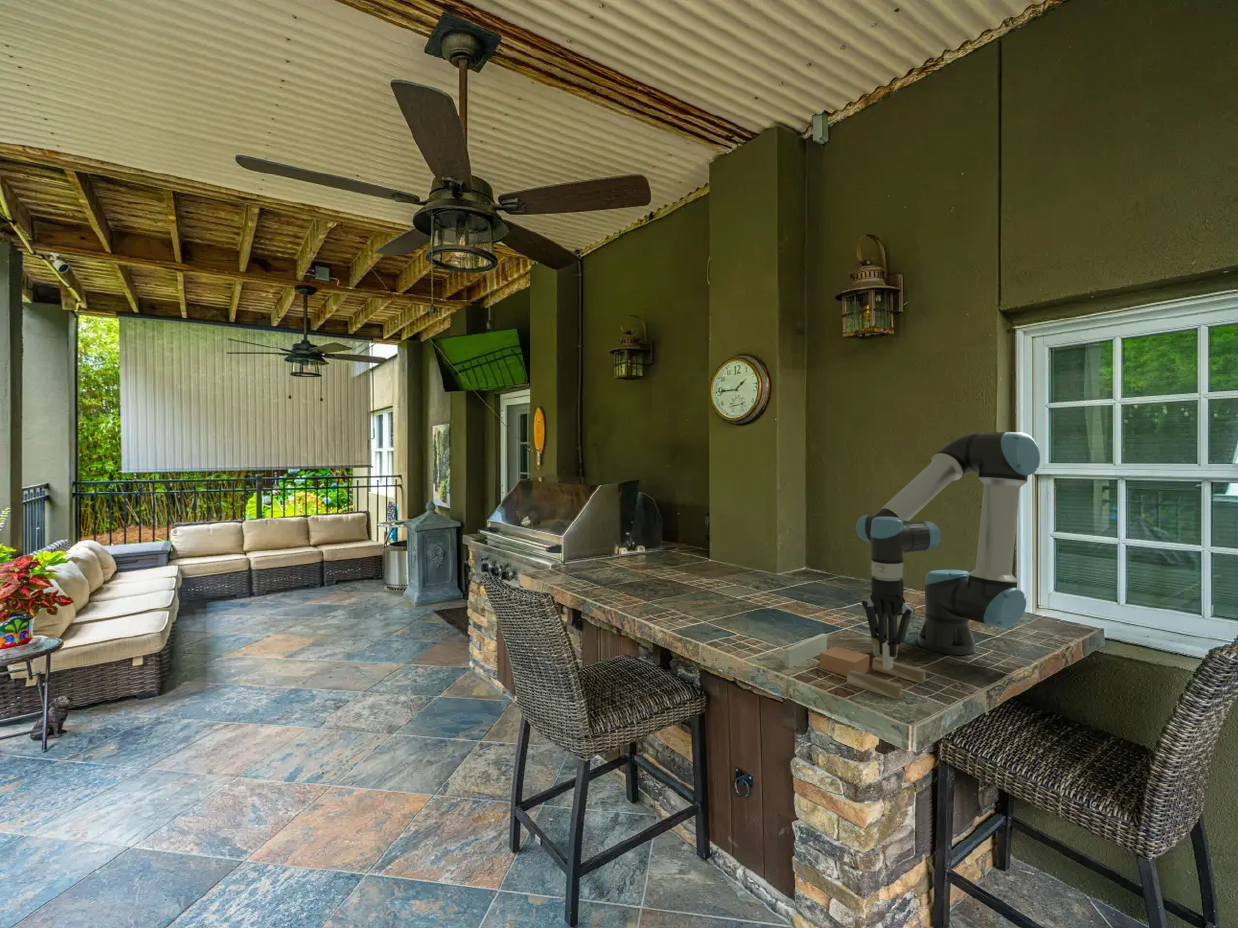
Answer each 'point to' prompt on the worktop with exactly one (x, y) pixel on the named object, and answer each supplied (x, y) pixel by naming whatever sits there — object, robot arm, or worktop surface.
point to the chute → (884, 685)
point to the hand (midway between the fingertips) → (887, 667)
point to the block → (843, 661)
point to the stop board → (805, 650)
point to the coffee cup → (876, 642)
